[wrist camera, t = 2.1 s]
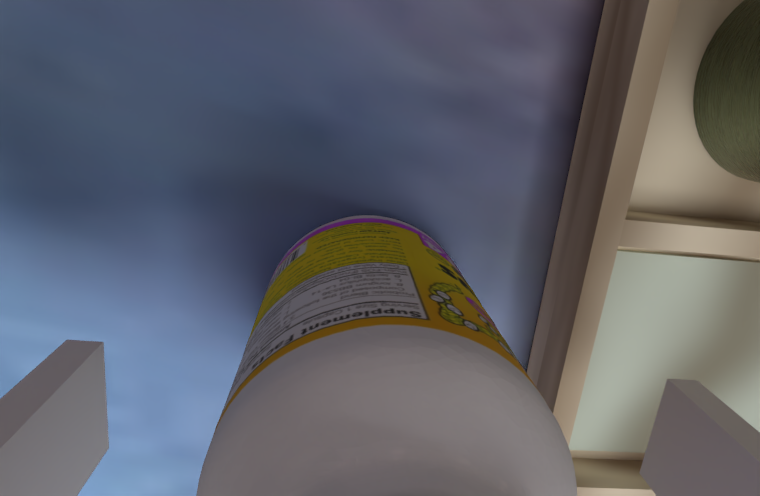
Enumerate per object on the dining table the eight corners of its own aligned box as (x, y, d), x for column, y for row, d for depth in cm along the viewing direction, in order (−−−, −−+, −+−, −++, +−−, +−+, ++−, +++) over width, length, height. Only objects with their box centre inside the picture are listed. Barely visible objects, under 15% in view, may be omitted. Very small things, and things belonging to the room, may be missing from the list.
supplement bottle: (472, 366, 19) (715, 876, 7) (294, 404, 19) (211, 989, 7) (444, 189, 17) (719, 458, 5) (244, 230, 17) (-8, 615, 5)
